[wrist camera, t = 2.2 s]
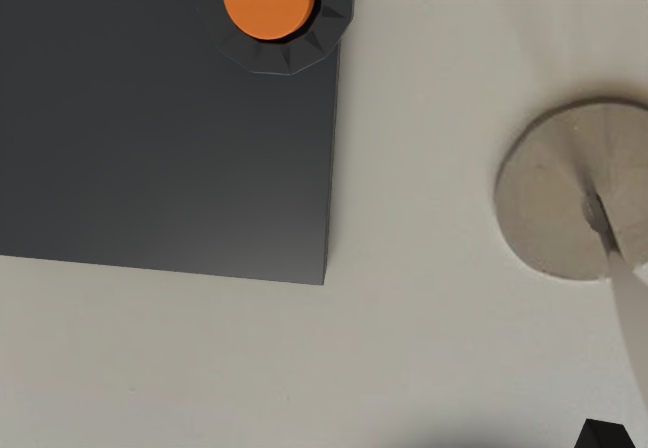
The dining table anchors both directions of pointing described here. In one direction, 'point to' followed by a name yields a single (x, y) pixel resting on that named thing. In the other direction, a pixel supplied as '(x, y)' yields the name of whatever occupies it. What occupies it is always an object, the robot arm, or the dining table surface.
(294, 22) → the button
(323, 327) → the dining table surface
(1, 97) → the scale
